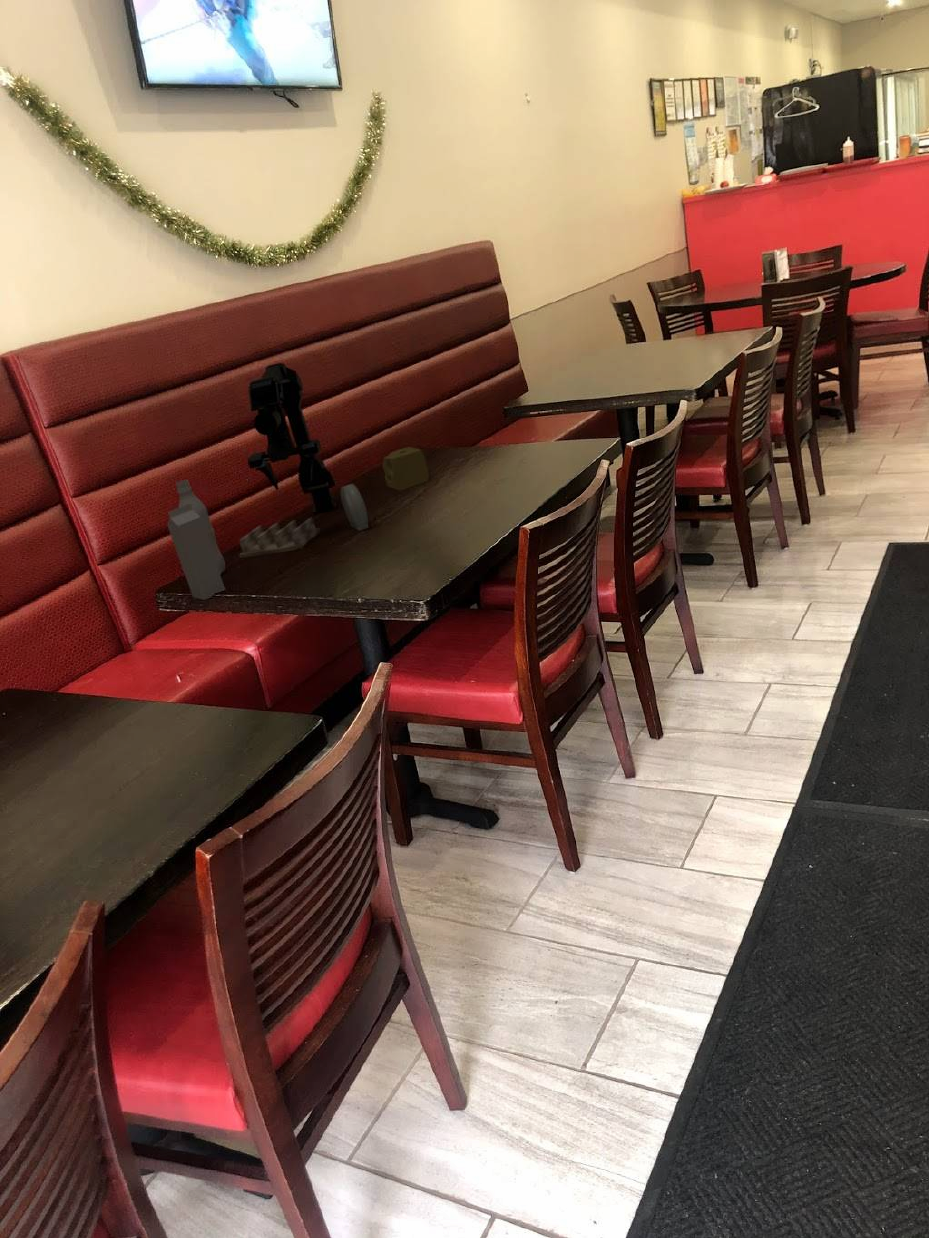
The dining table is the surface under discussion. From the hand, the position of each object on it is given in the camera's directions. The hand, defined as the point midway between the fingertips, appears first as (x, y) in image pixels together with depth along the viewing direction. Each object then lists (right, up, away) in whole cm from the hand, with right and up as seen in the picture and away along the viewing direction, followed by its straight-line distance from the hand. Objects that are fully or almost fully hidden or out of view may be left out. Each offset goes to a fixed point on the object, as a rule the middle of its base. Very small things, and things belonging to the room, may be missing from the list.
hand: (294, 485), depth 261 cm
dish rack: (-4, -15, +5) cm, 17 cm away
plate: (+17, -11, +3) cm, 20 cm away
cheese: (+28, +5, +37) cm, 47 cm away
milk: (-17, -29, -22) cm, 40 cm away
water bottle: (-19, -24, -7) cm, 32 cm away
